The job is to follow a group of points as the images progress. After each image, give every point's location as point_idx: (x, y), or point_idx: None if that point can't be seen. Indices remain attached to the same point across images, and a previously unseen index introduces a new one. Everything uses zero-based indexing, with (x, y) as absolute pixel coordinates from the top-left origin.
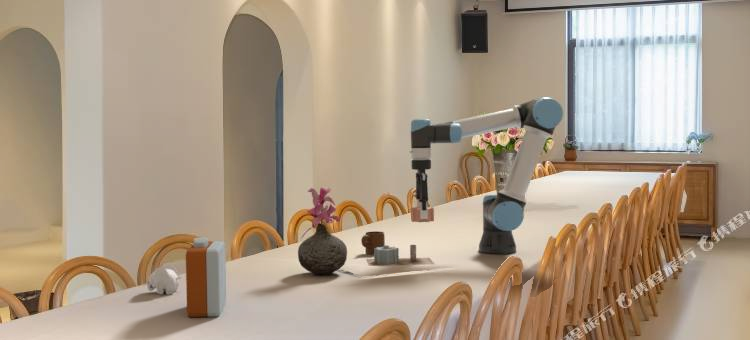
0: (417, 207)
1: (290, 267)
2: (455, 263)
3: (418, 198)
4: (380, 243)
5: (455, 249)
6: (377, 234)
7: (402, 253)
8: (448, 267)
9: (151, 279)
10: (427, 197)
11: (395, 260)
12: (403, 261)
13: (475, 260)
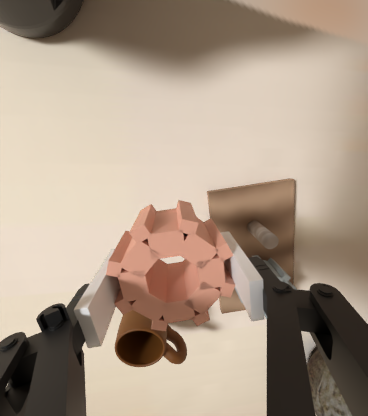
0: (146, 304)
1: (261, 399)
2: (244, 127)
3: (80, 346)
4: None
5: (13, 116)
6: (164, 339)
7: (105, 252)
8: (294, 147)
9: None
10: (344, 303)
11: (275, 262)
12: (255, 245)
13: (202, 67)
